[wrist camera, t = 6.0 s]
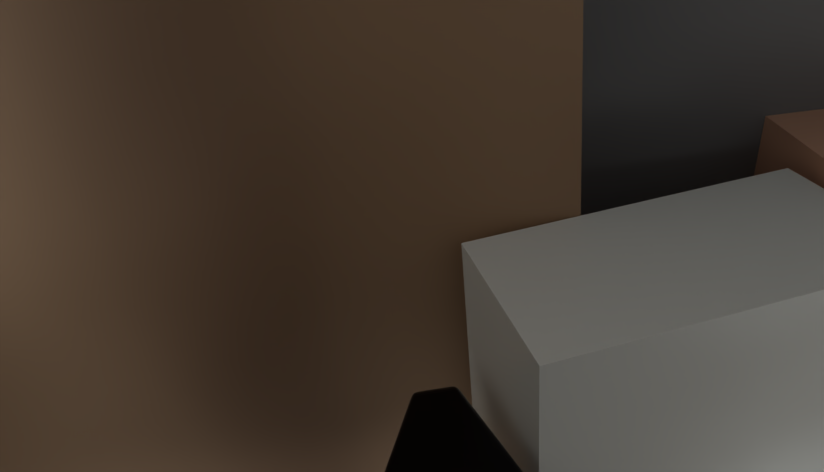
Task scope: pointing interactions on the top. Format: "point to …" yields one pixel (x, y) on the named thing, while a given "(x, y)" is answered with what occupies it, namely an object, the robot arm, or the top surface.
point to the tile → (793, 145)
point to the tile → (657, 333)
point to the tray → (689, 90)
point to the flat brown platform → (260, 218)
